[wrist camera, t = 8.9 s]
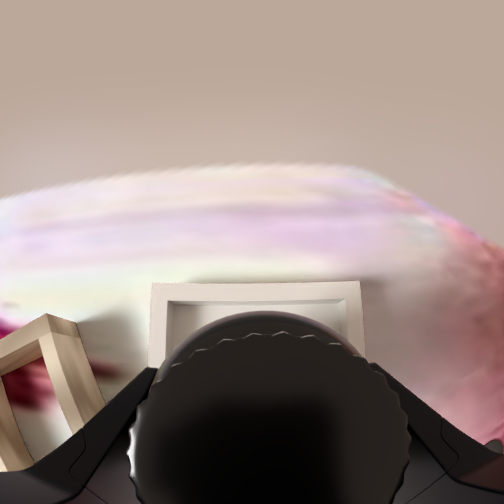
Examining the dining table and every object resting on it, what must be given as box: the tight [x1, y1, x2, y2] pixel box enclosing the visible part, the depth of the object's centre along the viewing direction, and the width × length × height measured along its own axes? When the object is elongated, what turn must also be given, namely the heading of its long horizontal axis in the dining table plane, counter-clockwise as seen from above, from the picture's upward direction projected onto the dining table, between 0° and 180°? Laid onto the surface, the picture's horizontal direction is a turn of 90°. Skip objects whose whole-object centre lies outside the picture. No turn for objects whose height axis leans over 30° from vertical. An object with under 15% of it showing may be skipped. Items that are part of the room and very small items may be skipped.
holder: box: [0, 313, 106, 472], centre depth 12 cm, size 11×11×4 cm
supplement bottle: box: [126, 310, 412, 504], centre depth 9 cm, size 7×7×12 cm
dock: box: [148, 281, 366, 369], centre depth 15 cm, size 12×12×2 cm
